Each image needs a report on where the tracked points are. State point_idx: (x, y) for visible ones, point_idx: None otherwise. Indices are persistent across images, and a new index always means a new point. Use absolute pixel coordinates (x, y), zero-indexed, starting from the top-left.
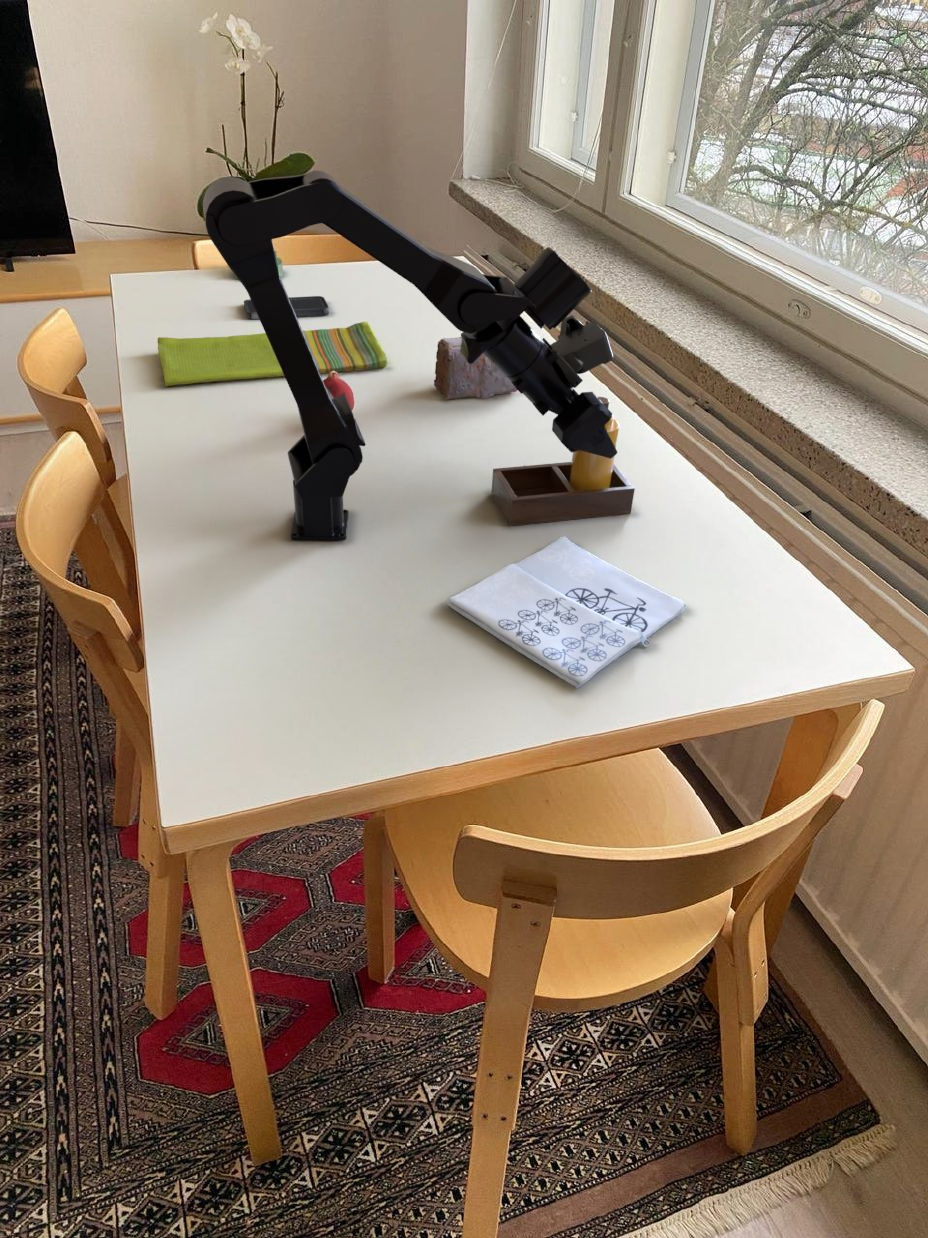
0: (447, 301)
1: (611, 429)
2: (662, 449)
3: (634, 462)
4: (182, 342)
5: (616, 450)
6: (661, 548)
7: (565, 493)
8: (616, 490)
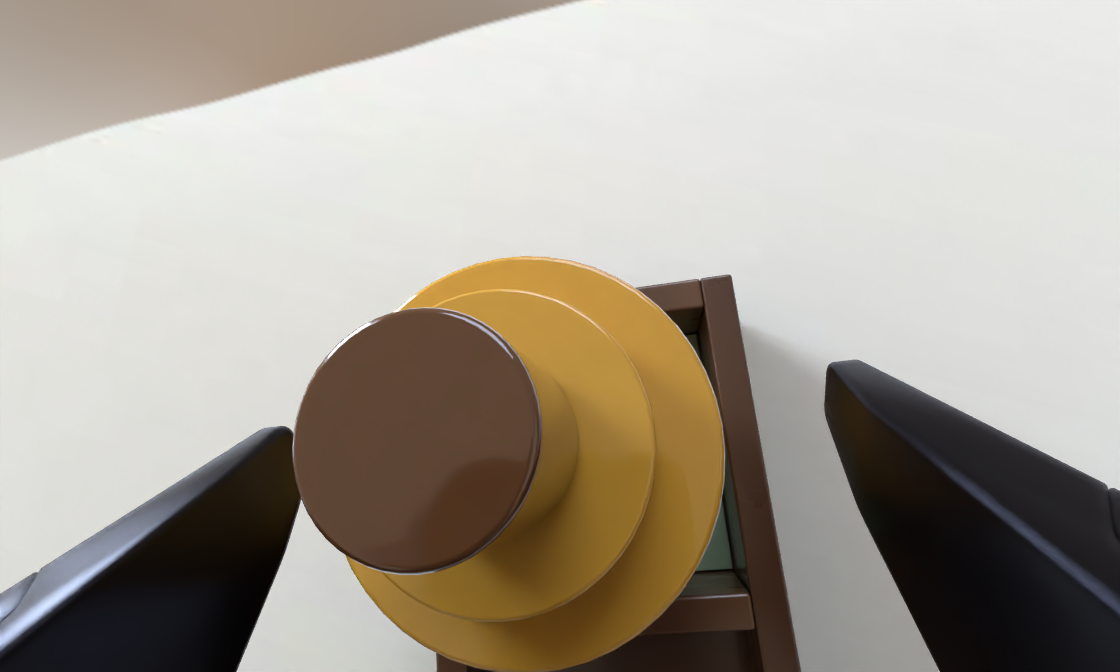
0: None
1: (666, 353)
2: (273, 92)
3: (339, 203)
4: None
5: (878, 370)
6: (1001, 260)
7: (777, 661)
8: (745, 366)
